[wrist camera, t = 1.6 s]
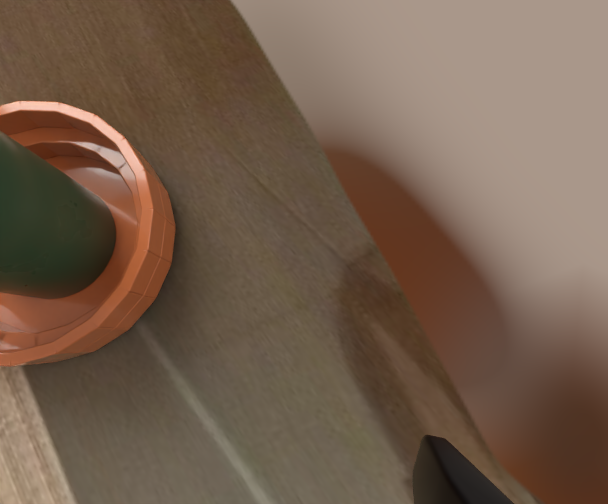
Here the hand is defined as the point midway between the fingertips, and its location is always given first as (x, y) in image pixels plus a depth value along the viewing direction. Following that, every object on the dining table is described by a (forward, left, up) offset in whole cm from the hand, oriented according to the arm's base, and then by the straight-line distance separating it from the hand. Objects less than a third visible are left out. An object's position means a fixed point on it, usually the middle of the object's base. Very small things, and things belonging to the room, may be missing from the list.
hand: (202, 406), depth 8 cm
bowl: (-2, +14, -14) cm, 20 cm away
